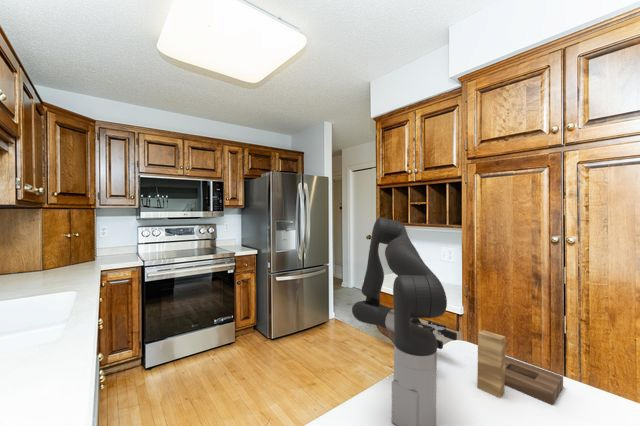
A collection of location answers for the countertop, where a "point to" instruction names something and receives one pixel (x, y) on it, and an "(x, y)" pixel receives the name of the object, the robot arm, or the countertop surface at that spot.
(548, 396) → the base board
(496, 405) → the countertop surface
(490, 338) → the plank
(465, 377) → the countertop surface
